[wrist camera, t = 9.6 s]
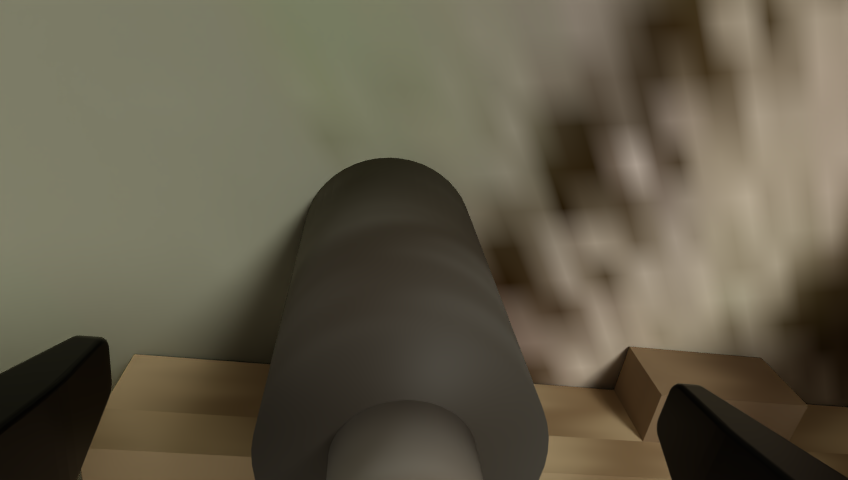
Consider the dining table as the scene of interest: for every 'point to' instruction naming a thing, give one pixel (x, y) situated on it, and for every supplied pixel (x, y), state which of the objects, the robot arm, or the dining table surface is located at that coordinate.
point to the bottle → (395, 344)
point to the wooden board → (563, 406)
